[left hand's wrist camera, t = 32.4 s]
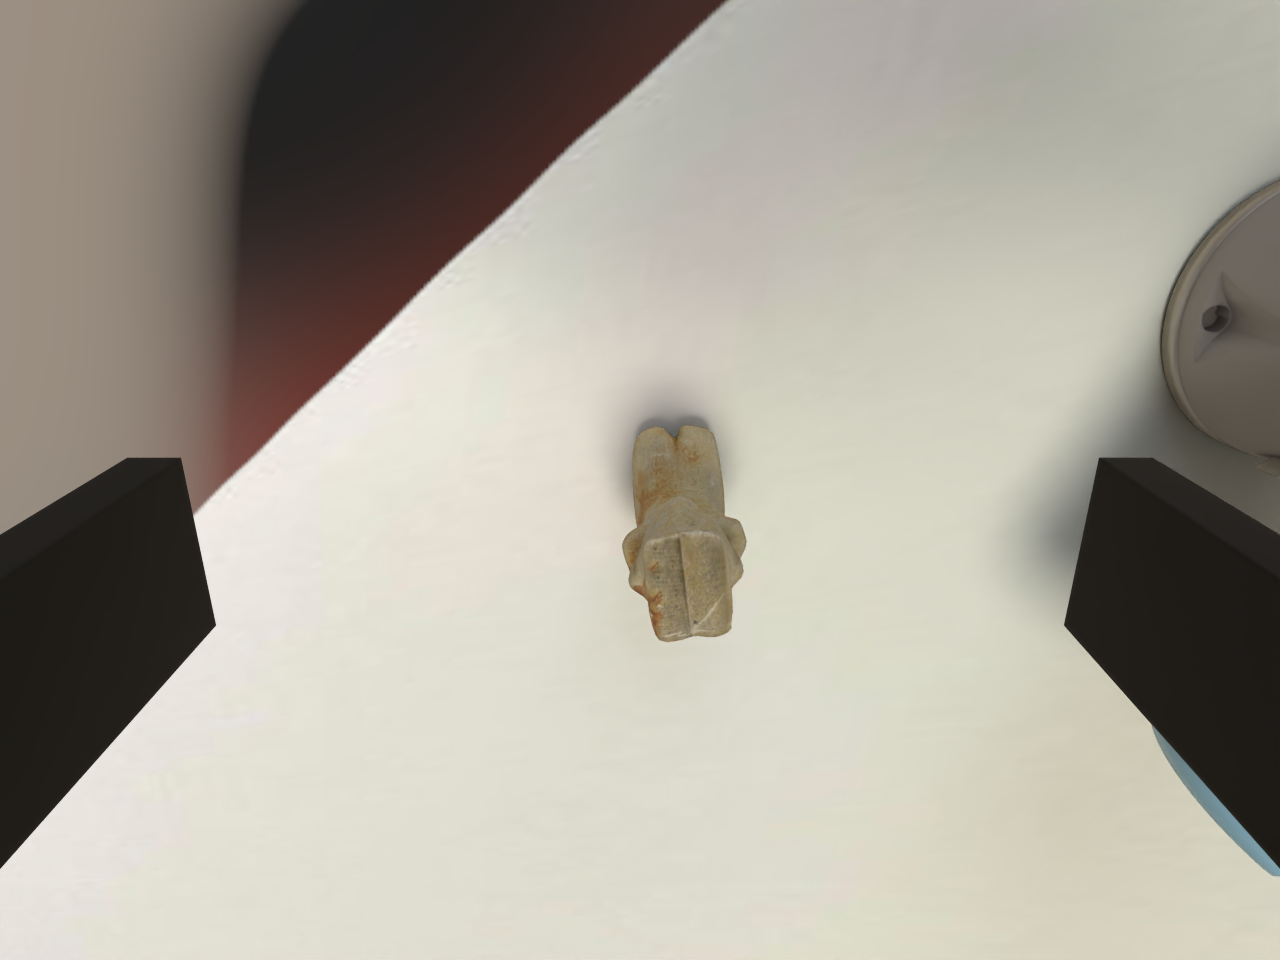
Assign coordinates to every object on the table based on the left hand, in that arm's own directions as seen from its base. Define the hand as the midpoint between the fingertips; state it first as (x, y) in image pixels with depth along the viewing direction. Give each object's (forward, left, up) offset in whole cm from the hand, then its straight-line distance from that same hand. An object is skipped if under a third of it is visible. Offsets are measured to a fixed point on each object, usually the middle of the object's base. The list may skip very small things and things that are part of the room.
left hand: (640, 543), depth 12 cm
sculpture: (+7, +10, -34) cm, 36 cm away
